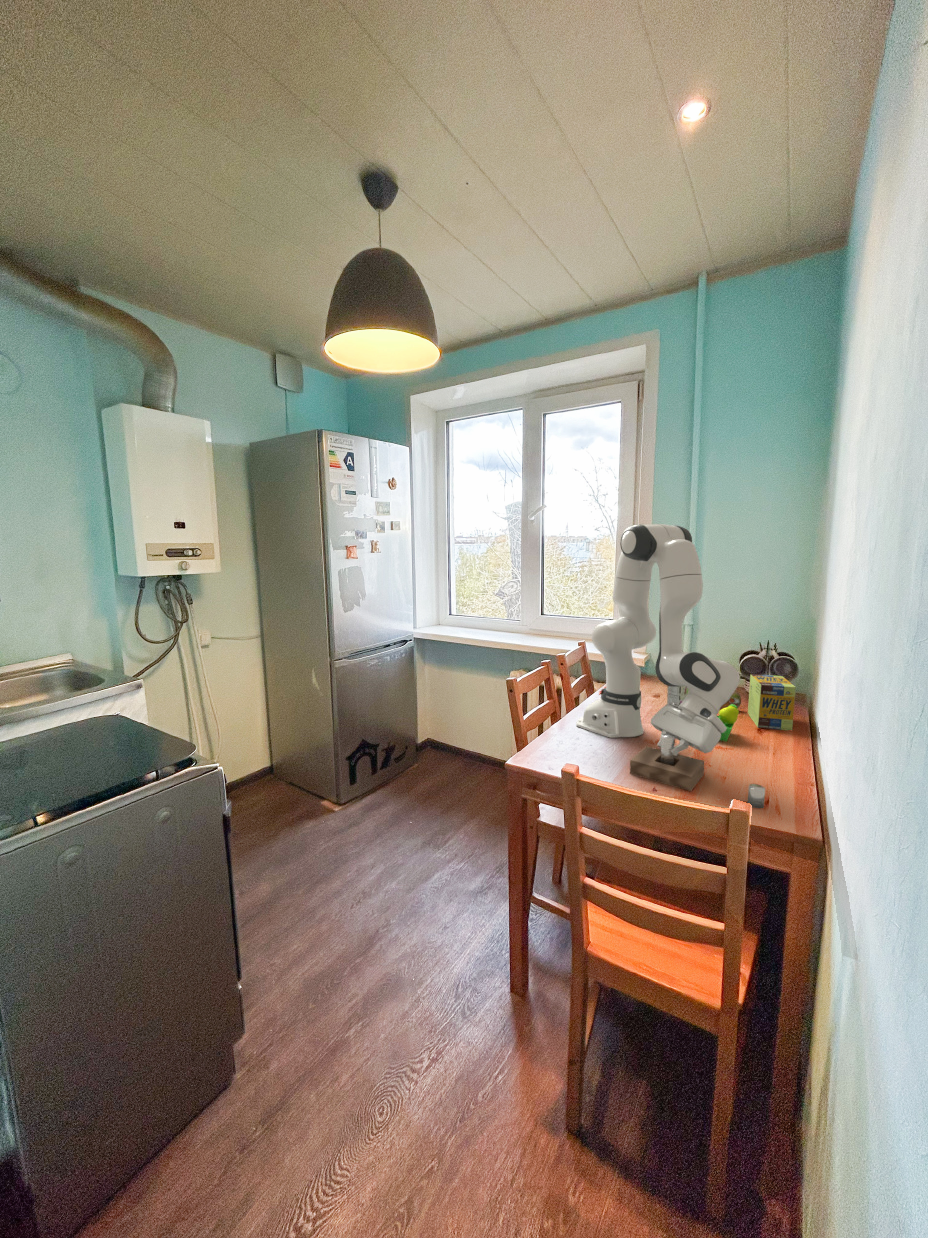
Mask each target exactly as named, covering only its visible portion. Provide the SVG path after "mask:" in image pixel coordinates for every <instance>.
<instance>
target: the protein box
mask: <svg viewBox="0 0 928 1238" xmlns="http://www.w3.org/2000/svg"><path fill="white" fill-rule="evenodd" d="M796 688H797V687H796V686H795V685H794V684H792V683H791V682H790V681H789V680H788V679H786V678H785V677H784V676H783V675H782V676H781V675H770V674H755V673H750V678H749V691H748V704H747V705H748V706H747V715H748V714H749V715H748V717H750V719H751V720H752V721H753V723H754V725H755V726H756V727H757V728H759V729H768V730H778V731H788V730H792V731H793V727H794V726H793V724H794V713H795V712H794V711H795V704H796V703H795V701H796V692H797V691H796Z"/></svg>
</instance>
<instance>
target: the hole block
mask: <svg viewBox="0 0 928 1238" xmlns="http://www.w3.org/2000/svg"><path fill="white" fill-rule="evenodd" d="M660 762H661V749H659V748H655V747H651V746H647V745H646V746H644V747H643V748H642V749H641V750H640V751H639V752H637V754H635V755H634V756H633V757H631V758H630V759H629V774H630V775H634V776H638V777H641V778H645V779H648V780H651V781H654V782H658V783H662V784H664V785H668V786H671V787H675V788H678V789H681V790H685V791H689V792H692V790H693V789H694V788H695V786H696V785H697V784H698V783H699V781H701V779H702V777H704V774H705V760H702V759H699V758H695V757H691V756H687V755H683V754H679V753H678V754H677V756H674V766H671V765H667V764H664V763H660Z"/></svg>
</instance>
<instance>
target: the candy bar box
mask: <svg viewBox="0 0 928 1238" xmlns="http://www.w3.org/2000/svg"><path fill="white" fill-rule="evenodd" d="M689 692H690V690H689V689H688V688H687V687H686V686H677V687H670V686H667V701H666V704H671V703H675V704H677V705H680V704H681V703H682V701H683V700H684V699H685V698H686V696H687V695H688V694H689Z"/></svg>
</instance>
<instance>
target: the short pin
mask: <svg viewBox="0 0 928 1238" xmlns="http://www.w3.org/2000/svg"><path fill="white" fill-rule="evenodd" d="M765 795H766V788H765V787H764V785H760V784H755V783H751V784H749V785H748V793H747V804H748V803H750V804H751V805H752V807H751V808H754V809H758V810H759V809H764V808H765V797H766V796H765Z"/></svg>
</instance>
